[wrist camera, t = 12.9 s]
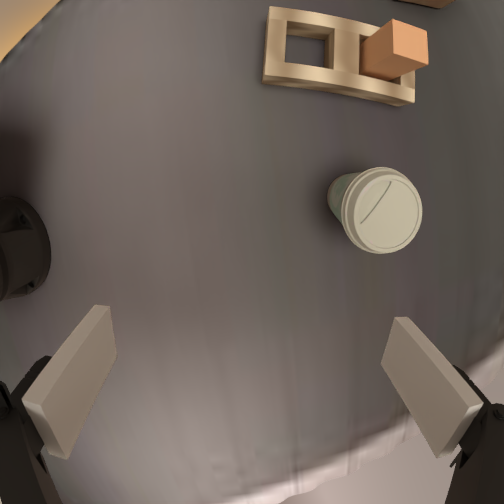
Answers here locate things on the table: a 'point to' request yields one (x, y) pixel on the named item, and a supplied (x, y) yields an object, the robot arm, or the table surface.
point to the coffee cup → (376, 208)
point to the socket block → (328, 58)
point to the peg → (393, 51)
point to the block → (431, 2)
